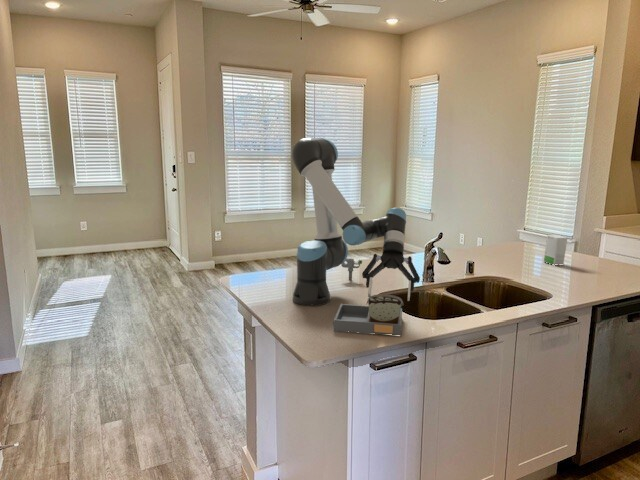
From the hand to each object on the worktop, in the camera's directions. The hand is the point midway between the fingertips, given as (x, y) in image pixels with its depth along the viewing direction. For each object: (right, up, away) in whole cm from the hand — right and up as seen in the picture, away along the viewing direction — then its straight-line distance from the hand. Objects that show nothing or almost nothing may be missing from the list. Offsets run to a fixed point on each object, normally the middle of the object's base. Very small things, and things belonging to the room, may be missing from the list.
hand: (388, 297), depth 159 cm
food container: (-2, -9, -1) cm, 10 cm away
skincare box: (+104, +7, +91) cm, 138 cm away
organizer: (-7, -10, +1) cm, 12 cm away
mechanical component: (-10, +1, +55) cm, 56 cm away
